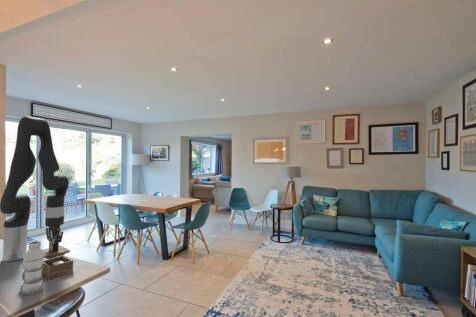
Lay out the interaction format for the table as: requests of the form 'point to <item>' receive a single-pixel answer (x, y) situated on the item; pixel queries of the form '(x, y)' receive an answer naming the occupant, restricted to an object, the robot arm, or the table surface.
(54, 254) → the lid
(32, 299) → the table surface
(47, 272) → the box
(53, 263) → the cube offwhite
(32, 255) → the plastic bottle
